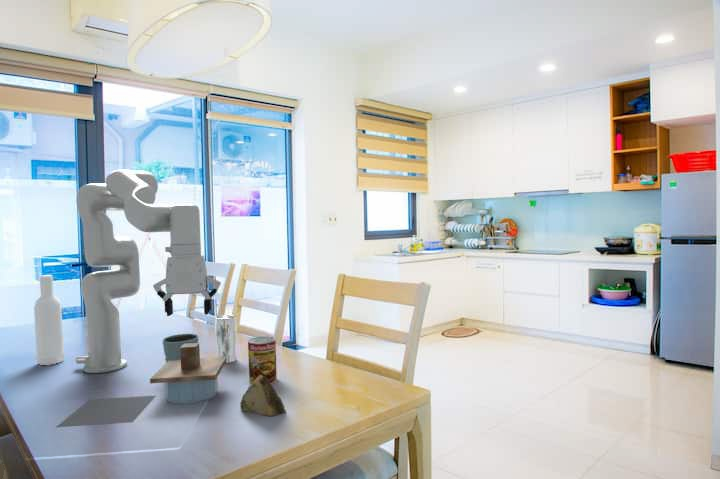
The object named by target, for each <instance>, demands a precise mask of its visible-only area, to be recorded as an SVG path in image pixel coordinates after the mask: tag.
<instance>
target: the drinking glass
mask: <svg viewBox="0 0 720 479" xmlns="http://www.w3.org/2000/svg"><path fill="white" fill-rule="evenodd" d="M188 343H199V335H198V334H197V333H196V334H195V333H180V334H173V335H170V336H167V337H164V338H163V339H162V346H163V351H164V352H163V353H164V356H165V358H164V359H165V364H166V363H167V362H168V361H169V360H181V356H180V347H181V346H182V345H183V344H188Z"/></svg>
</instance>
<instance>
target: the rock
mask: <svg viewBox="0 0 720 479" xmlns="http://www.w3.org/2000/svg"><path fill="white" fill-rule="evenodd" d="M239 404H240V410H242V411H244V412H249V413H251V414H252V413H255V414H257V415H262V416H269V417H274V416H278V415H282V414H284V413H286V412H287V410H286V408H285V405H284V403H283V400H282V398H281V397H280V396H279V395H278V393H277V390H276V389H275V388H274V386H273V384H272V383H270V382H269V381H268V380H267V378H266V377H265V376H263V375H259V376H258V377H257V378H256V379H255V381H254V382H253V383H252V384H251V383H250V386H248V388H247V389H246V391H245V393H244V394H243V395H242V399H241V401H240V403H239Z"/></svg>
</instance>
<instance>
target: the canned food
mask: <svg viewBox="0 0 720 479" xmlns="http://www.w3.org/2000/svg"><path fill="white" fill-rule="evenodd" d="M276 346H277V342H276V338H275V337H273V336H257V337H253V338H249V339H248V340H247V353H248V379H249V380H248V381H249V383H250V385H251V384H252V383H253V382H254V381H255V379H256V378H257V377H258V376H259V375H263V376H265V377H266V378H267V380H268V381H269V382H270V384H273V383H275V382H277V380H278V375H277V374H278V372H277V348H276Z"/></svg>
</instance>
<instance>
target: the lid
mask: <svg viewBox="0 0 720 479" xmlns="http://www.w3.org/2000/svg"><path fill="white" fill-rule="evenodd" d="M180 356H181V360H169V361H168V362H167V363H166V362H165V363H164V364H163V365H162V366H161V367H160V368H159V369H158V370H157V371H156V372H155V373H154V374H153V375H152V376H151V377H150V378H149V384H165V383H167V382H184V381H202V380H216V378H218V377H219V374H220V373H221V371H222V369H223V368H224V367H225V365H226V364H225V363H226V357H220V358H218V357H206V358H205V357H204V358H201V355H200V343H199V342H198V343H188V344H183V345H182V346H181V347H180Z"/></svg>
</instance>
